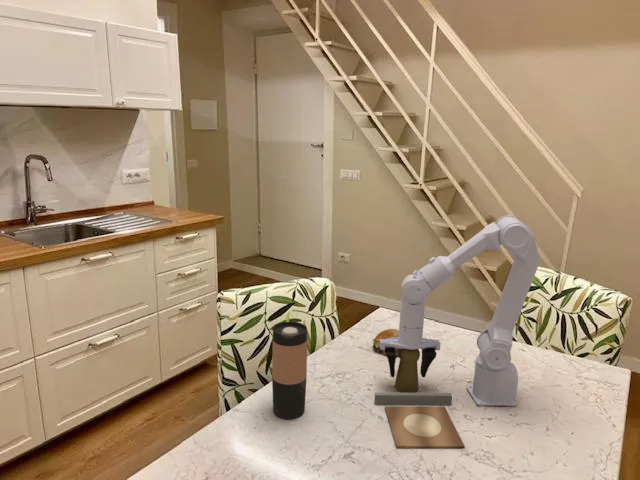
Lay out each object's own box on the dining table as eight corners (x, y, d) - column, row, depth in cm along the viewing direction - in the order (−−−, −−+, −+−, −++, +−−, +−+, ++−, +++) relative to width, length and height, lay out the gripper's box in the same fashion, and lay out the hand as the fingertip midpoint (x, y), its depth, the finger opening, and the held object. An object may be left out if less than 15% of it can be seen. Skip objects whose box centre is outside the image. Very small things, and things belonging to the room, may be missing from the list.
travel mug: (290, 397, 112) (291, 318, 108) (312, 411, 107) (314, 329, 102) (265, 409, 107) (265, 327, 102) (287, 424, 102) (288, 339, 97)
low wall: (449, 402, 112) (450, 392, 111) (451, 405, 111) (452, 395, 110) (374, 401, 111) (374, 392, 111) (375, 404, 110) (375, 395, 110)
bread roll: (403, 369, 134) (417, 346, 133) (371, 354, 133) (385, 331, 132) (398, 353, 144) (411, 332, 142) (368, 339, 143) (381, 317, 141)
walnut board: (444, 408, 109) (444, 406, 109) (464, 448, 96) (464, 445, 96) (384, 408, 109) (384, 405, 109) (396, 448, 95) (396, 445, 95)
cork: (418, 395, 114) (422, 354, 112) (393, 392, 116) (396, 351, 113) (418, 383, 120) (422, 343, 118) (394, 380, 121) (397, 340, 119)
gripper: (436, 318, 118) (432, 367, 121) (378, 317, 118) (376, 367, 121) (444, 329, 111) (439, 381, 114) (383, 329, 111) (380, 381, 114)
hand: (407, 375), depth 117 cm, fingers open, 7 cm apart
